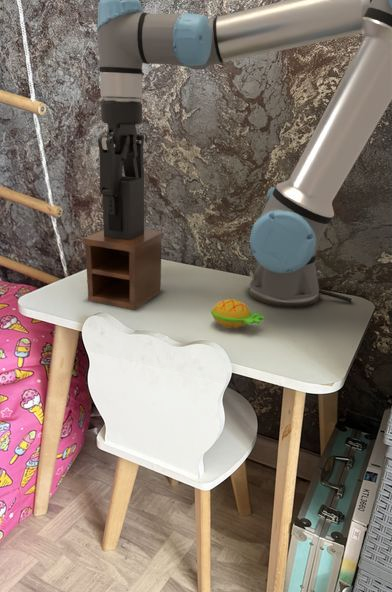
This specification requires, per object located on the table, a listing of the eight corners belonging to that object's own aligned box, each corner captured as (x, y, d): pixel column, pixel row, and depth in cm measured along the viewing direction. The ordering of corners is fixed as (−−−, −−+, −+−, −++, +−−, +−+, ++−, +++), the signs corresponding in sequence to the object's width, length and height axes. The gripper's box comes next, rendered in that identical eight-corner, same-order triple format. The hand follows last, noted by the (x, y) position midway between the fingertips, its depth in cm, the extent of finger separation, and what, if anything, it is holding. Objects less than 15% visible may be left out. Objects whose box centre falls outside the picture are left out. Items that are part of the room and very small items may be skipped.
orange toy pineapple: (218, 316, 104) (220, 291, 101) (266, 326, 100) (269, 300, 98) (204, 329, 98) (206, 302, 96) (255, 340, 94) (257, 313, 92)
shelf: (162, 291, 115) (163, 232, 109) (135, 310, 105) (135, 246, 99) (116, 283, 119) (114, 225, 113) (86, 301, 108) (82, 238, 102)
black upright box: (144, 233, 107) (144, 178, 102) (130, 240, 102) (129, 182, 97) (118, 230, 109) (117, 175, 104) (103, 236, 104) (101, 179, 99)
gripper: (128, 99, 104) (130, 215, 114) (74, 99, 88) (82, 234, 98) (162, 100, 101) (161, 220, 112) (113, 101, 86) (116, 240, 96)
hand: (124, 226), depth 105 cm, fingers closed on black upright box, 6 cm apart
